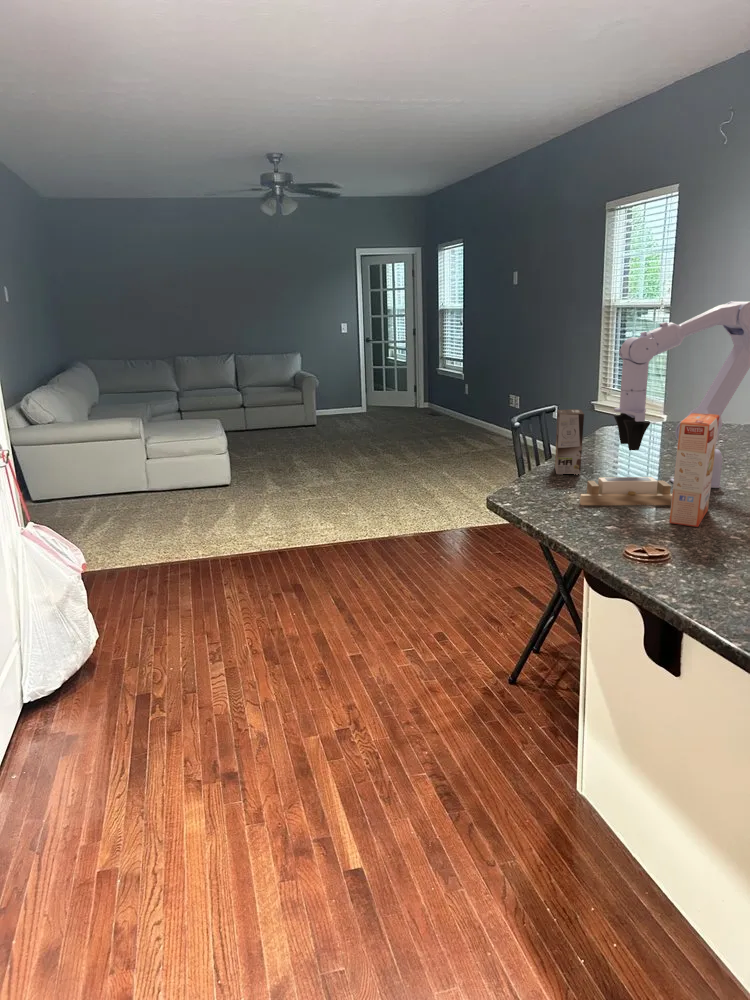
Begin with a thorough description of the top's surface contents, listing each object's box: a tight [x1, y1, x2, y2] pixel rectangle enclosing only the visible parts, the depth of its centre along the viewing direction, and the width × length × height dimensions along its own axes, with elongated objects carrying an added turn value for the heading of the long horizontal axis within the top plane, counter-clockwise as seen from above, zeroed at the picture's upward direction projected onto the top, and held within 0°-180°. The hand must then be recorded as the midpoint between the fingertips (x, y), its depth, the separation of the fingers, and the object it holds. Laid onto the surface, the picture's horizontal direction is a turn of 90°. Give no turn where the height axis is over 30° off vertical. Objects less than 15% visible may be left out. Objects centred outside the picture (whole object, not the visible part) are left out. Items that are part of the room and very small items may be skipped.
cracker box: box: [669, 413, 720, 528], centre depth 143 cm, size 14×6×21 cm, turn 148°
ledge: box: [579, 480, 672, 506], centre depth 158 cm, size 22×7×4 cm, turn 86°
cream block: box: [597, 476, 659, 494], centre depth 159 cm, size 12×4×5 cm, turn 87°
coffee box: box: [554, 408, 585, 476], centre depth 186 cm, size 9×6×16 cm
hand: (629, 446), depth 168 cm, fingers open, 7 cm apart
